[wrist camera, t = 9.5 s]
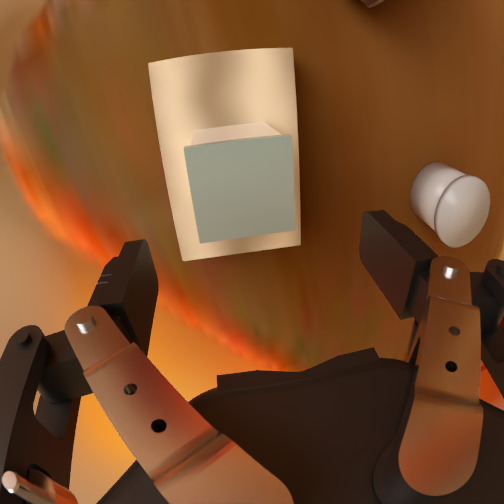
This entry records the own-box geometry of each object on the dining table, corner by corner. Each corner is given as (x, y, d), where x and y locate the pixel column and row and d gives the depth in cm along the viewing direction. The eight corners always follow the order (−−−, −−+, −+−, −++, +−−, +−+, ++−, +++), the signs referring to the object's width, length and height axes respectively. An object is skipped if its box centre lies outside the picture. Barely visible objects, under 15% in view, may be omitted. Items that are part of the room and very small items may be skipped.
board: (280, 52, 22) (292, 47, 18) (289, 224, 30) (300, 245, 27) (157, 66, 21) (148, 63, 18) (185, 238, 29) (182, 261, 26)
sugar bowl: (461, 159, 29) (495, 177, 24) (451, 219, 33) (481, 242, 28) (411, 159, 28) (445, 178, 23) (403, 225, 32) (432, 252, 27)
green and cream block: (267, 118, 21) (291, 135, 15) (272, 188, 24) (295, 230, 18) (191, 128, 21) (183, 148, 15) (201, 197, 23) (199, 243, 17)
